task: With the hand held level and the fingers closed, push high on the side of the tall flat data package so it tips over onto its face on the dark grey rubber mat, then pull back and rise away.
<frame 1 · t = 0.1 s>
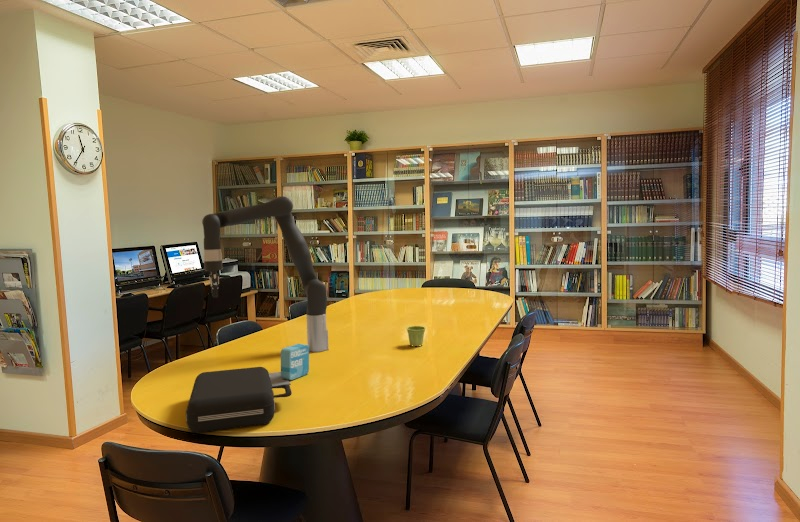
hand: (215, 296, 234), 29 cm above the table, tool pointing down, fingers open, 8 cm apart
data package: (295, 377, 209), on the table, touching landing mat
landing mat: (268, 380, 205), on the table
briefcase: (242, 410, 175), on the table
plant pot: (416, 346, 257), on the table
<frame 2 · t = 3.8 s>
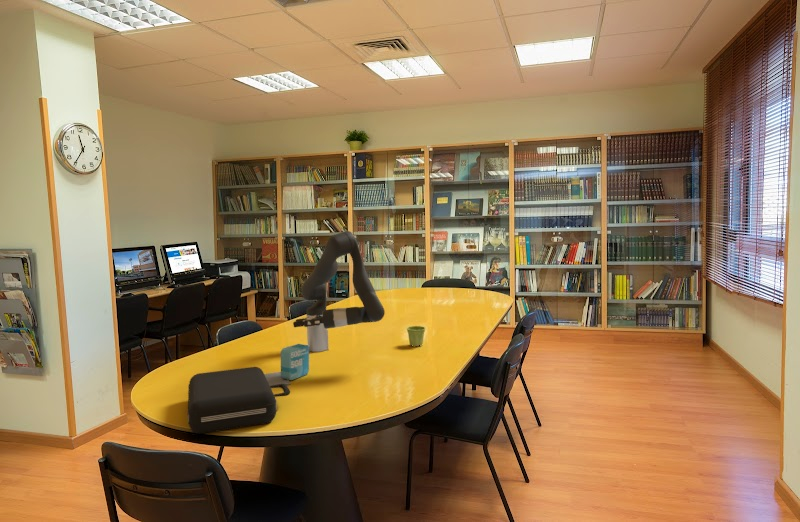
hand: (294, 323, 212), 21 cm above the table, tool horizontal, fingers open, 8 cm apart
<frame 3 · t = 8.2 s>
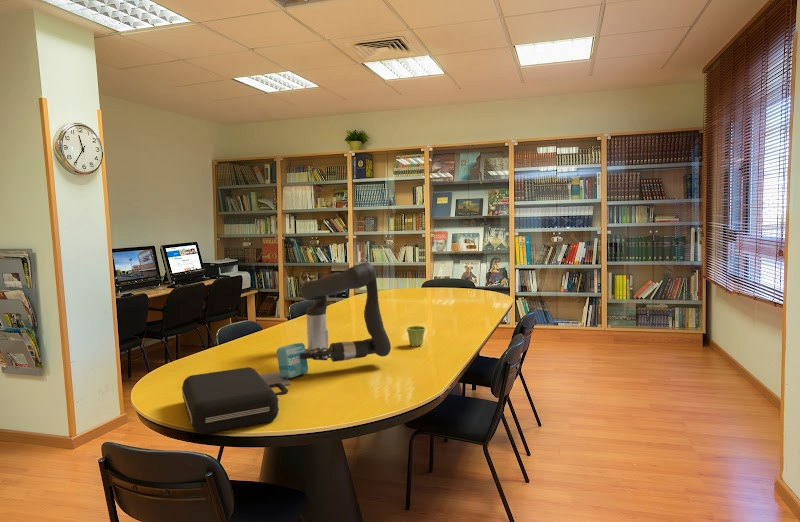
hand: (300, 356, 209), 8 cm above the table, tool horizontal, fingers closed
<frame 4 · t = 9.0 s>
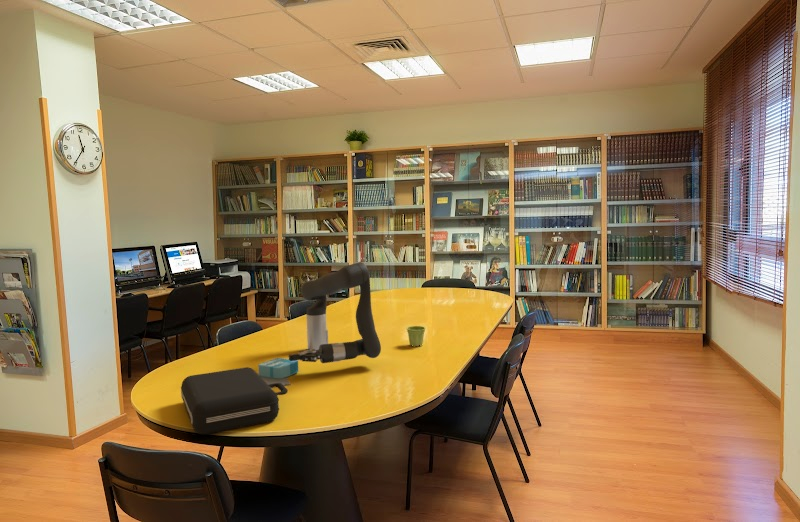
hand: (289, 357, 208), 8 cm above the table, tool horizontal, fingers closed
data package: (290, 370, 210), point 3 cm above the table, touching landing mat
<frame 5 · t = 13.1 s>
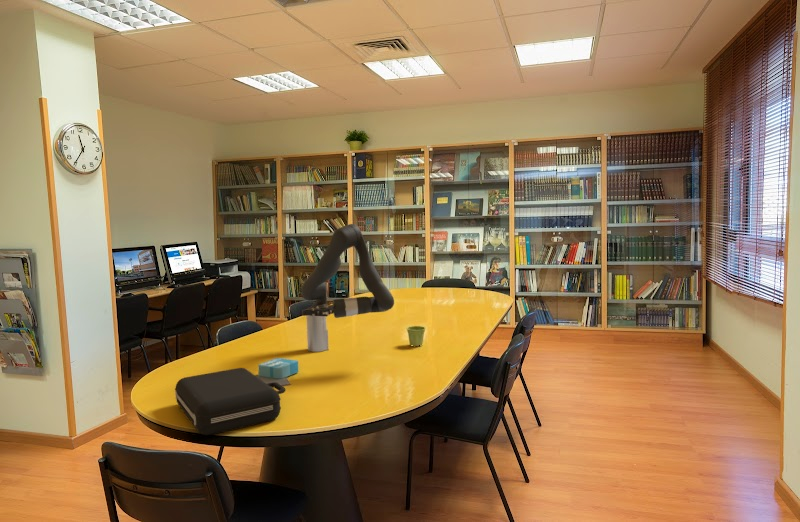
hand: (302, 312, 211), 25 cm above the table, tool horizontal, fingers closed
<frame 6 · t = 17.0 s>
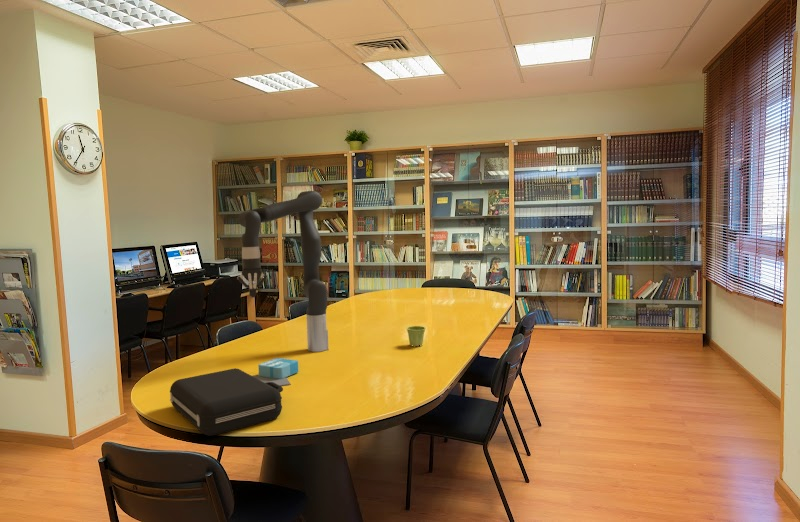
hand: (253, 297, 230), 29 cm above the table, tool pointing down, fingers closed
at the end: data package tilted 90°; data package inside the target area (5.9 cm from its centre), point 2.7 cm above the table; data package touching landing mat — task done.
